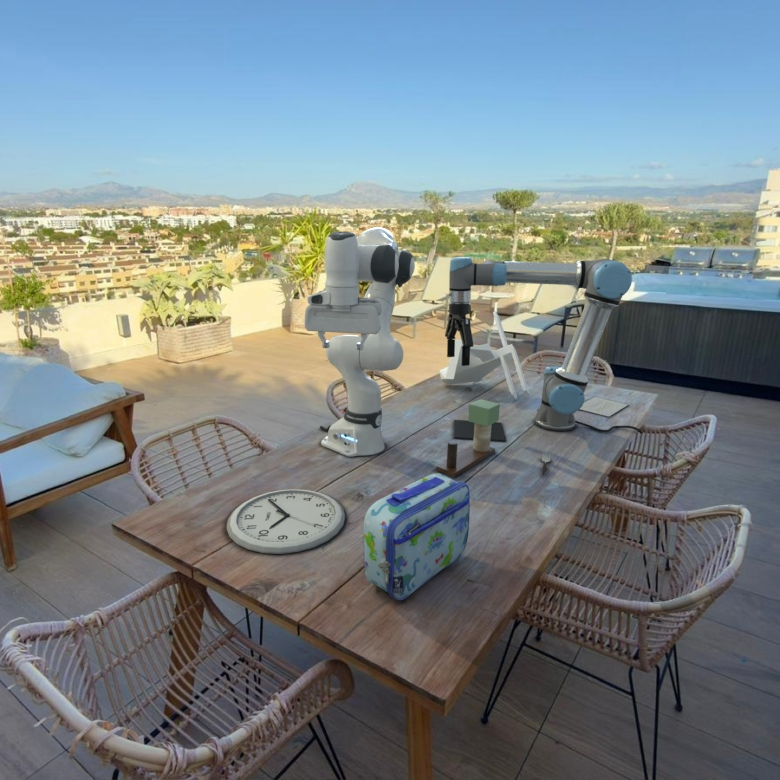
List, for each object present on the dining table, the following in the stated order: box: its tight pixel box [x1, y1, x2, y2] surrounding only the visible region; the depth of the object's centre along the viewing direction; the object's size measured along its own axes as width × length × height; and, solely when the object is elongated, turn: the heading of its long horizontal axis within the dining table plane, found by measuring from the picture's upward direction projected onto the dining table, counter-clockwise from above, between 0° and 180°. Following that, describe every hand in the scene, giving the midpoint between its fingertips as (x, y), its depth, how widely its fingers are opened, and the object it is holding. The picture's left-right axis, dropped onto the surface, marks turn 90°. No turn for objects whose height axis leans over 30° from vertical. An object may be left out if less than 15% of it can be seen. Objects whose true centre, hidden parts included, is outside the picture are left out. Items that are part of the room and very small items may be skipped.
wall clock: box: [226, 488, 346, 555], centre depth 135 cm, size 30×2×30 cm
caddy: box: [435, 423, 496, 478], centre depth 170 cm, size 7×25×12 cm, turn 140°
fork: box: [541, 451, 552, 476], centre depth 168 cm, size 3×16×2 cm, turn 160°
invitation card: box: [579, 396, 629, 418], centre depth 226 cm, size 21×1×15 cm
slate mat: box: [453, 419, 506, 443], centre depth 197 cm, size 18×18×1 cm
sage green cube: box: [467, 398, 501, 427], centre depth 174 cm, size 7×7×6 cm
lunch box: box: [362, 472, 471, 601], centre depth 112 cm, size 26×11×21 cm, turn 134°
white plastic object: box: [438, 310, 531, 400], centre depth 245 cm, size 37×45×31 cm
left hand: (343, 348), depth 140 cm, fingers open, 8 cm apart
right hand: (457, 361), depth 191 cm, fingers open, 13 cm apart
